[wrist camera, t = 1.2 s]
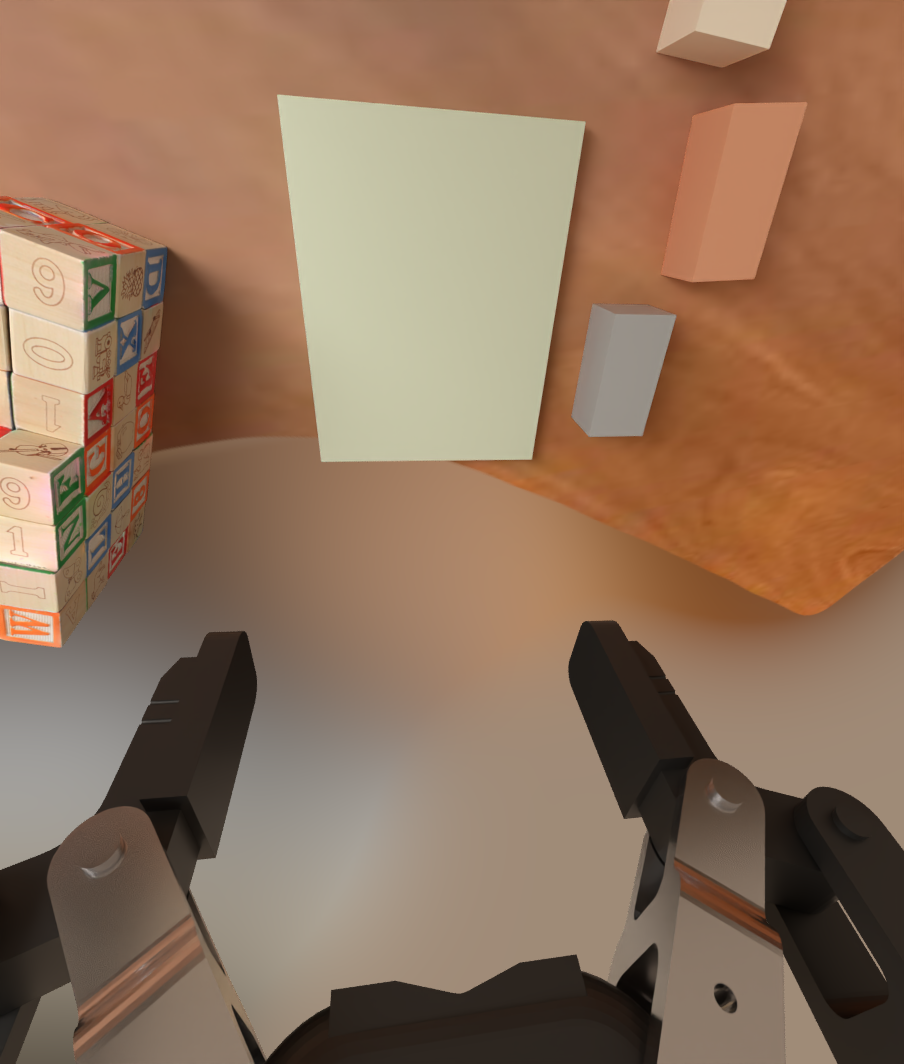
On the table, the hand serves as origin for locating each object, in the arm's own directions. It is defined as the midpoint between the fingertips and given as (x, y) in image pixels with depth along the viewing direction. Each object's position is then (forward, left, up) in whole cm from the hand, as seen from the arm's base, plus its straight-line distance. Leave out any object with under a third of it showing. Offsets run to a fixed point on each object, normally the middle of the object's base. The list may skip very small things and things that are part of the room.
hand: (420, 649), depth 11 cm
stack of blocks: (+3, -19, -26) cm, 33 cm away
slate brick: (0, +15, -26) cm, 30 cm away
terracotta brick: (-10, +19, -26) cm, 34 cm away
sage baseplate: (-3, +2, -26) cm, 26 cm away
